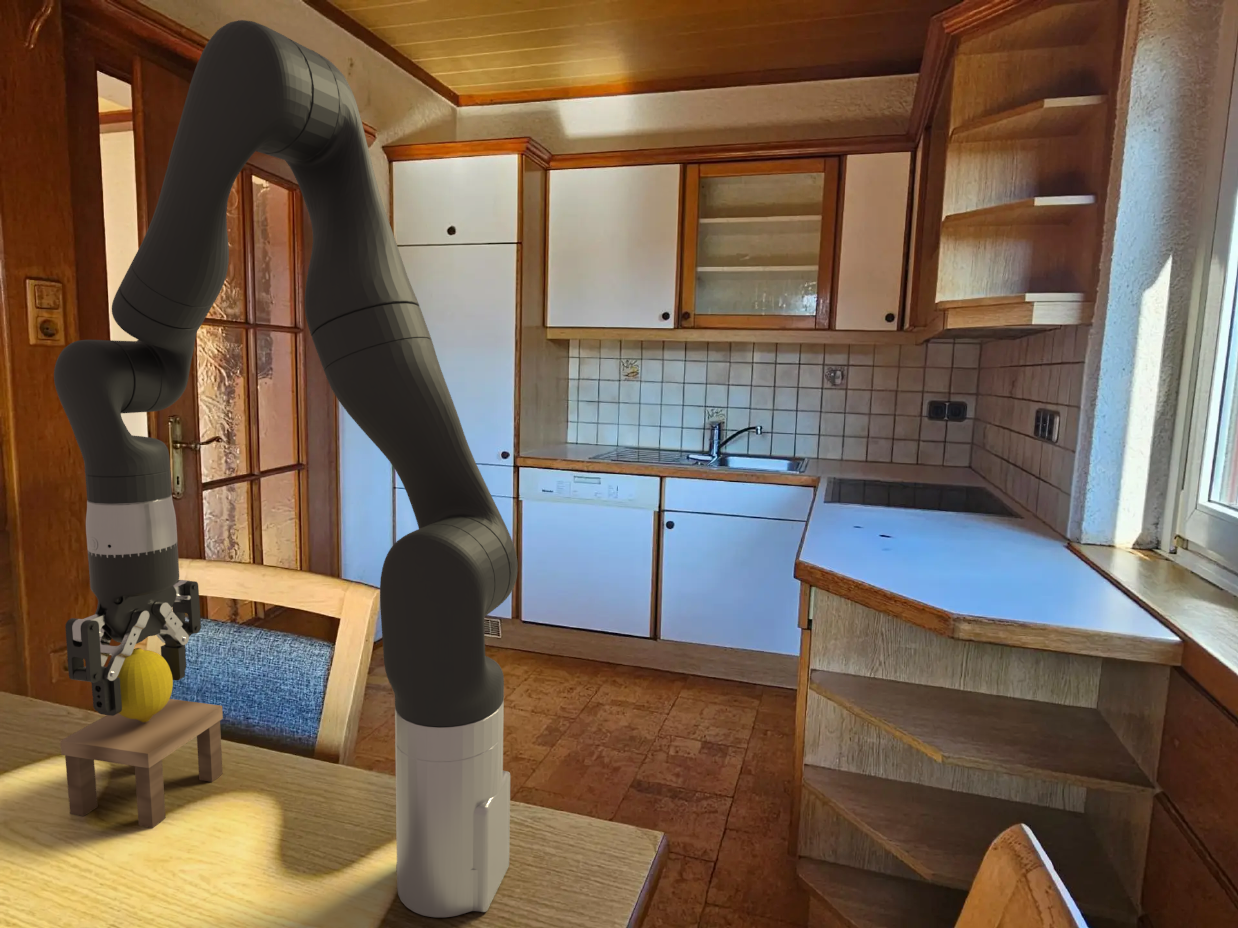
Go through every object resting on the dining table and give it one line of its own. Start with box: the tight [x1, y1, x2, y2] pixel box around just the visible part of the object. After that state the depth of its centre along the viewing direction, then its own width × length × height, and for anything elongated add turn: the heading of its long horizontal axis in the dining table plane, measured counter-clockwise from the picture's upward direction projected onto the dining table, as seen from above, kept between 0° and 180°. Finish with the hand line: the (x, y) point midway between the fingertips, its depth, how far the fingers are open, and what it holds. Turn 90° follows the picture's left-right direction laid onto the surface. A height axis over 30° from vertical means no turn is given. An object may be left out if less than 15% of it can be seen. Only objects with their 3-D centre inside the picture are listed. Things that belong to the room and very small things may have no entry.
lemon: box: [117, 647, 174, 722], centre depth 75 cm, size 6×6×8 cm
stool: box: [59, 698, 224, 829], centre depth 76 cm, size 10×10×8 cm
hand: (143, 694), depth 75 cm, fingers open, 7 cm apart
